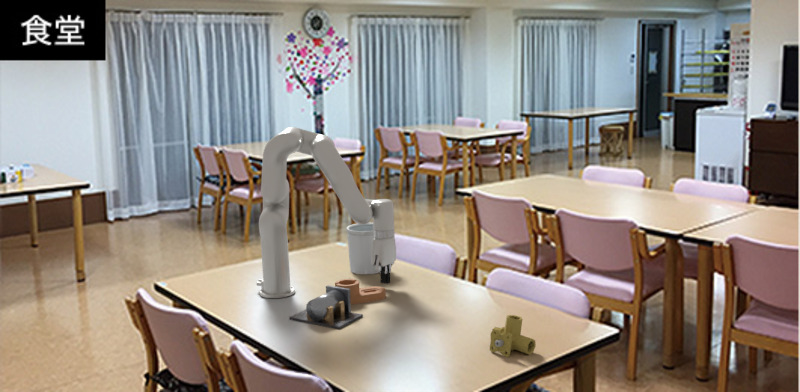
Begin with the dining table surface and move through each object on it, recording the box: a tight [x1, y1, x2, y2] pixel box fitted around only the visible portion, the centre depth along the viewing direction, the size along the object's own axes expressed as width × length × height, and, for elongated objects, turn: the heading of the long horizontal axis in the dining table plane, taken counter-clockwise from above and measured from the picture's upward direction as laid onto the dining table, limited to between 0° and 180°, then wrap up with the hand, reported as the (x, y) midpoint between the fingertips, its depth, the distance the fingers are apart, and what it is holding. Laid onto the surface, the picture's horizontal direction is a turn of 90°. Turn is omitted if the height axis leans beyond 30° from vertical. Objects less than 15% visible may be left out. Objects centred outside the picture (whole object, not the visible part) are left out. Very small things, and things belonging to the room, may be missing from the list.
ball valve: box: [489, 314, 536, 358], centre depth 226 cm, size 13×10×10 cm
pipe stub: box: [288, 284, 364, 330], centre depth 259 cm, size 20×14×8 cm
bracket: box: [334, 278, 387, 305], centre depth 277 cm, size 18×8×7 cm, turn 113°
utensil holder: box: [346, 222, 380, 275], centre depth 313 cm, size 15×15×18 cm
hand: (385, 282), depth 289 cm, fingers closed
